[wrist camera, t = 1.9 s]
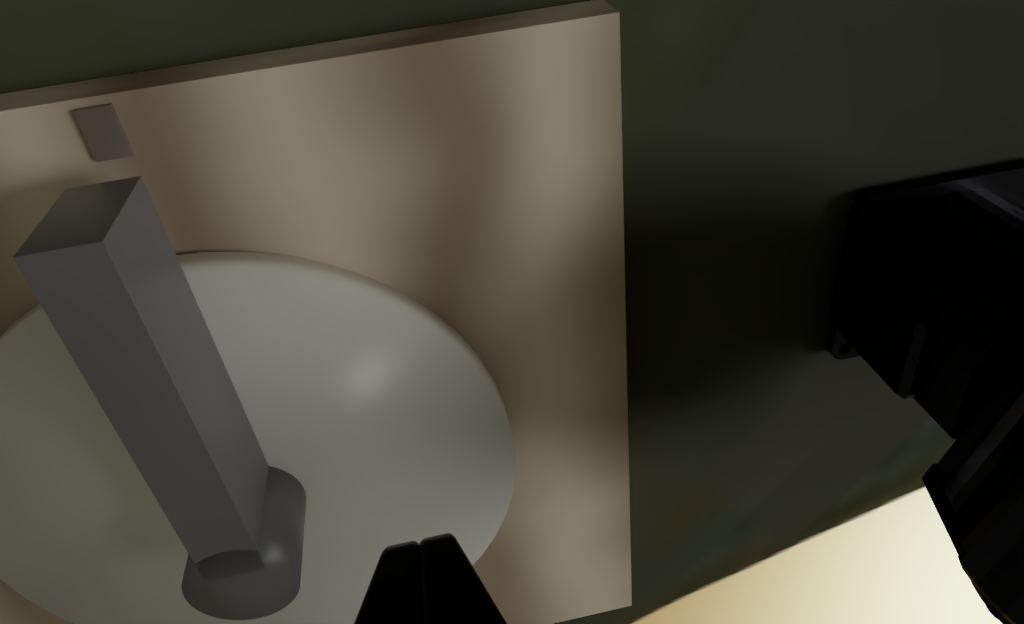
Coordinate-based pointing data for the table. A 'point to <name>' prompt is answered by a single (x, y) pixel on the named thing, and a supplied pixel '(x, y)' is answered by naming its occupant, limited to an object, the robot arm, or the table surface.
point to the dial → (227, 427)
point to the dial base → (404, 232)
